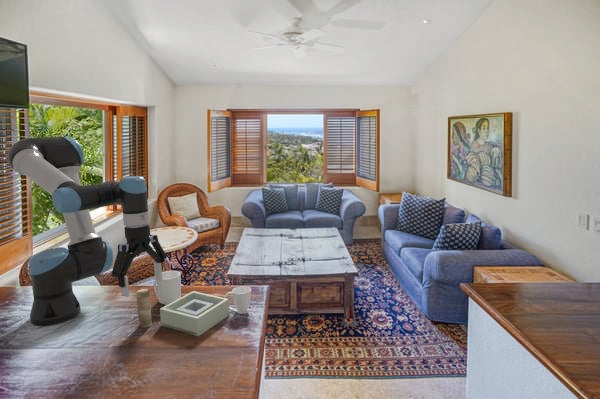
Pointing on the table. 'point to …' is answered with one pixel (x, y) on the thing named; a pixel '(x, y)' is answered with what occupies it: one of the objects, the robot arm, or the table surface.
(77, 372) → the table surface
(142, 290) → the peg
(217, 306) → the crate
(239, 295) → the cup
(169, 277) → the mug
